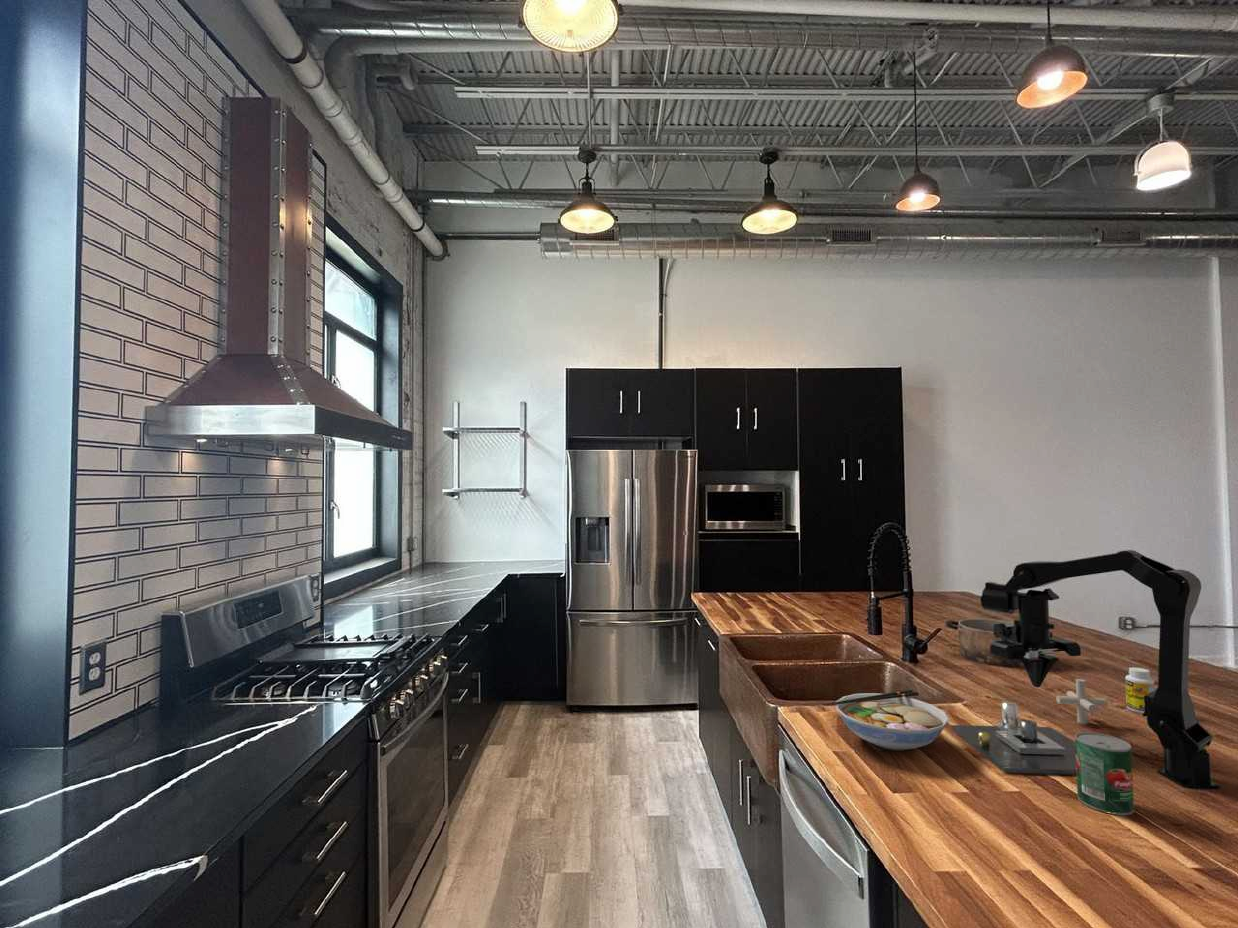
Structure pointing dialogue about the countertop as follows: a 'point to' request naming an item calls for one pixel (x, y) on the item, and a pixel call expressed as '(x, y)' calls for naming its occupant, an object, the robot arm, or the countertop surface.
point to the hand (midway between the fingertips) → (1036, 686)
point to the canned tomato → (1104, 773)
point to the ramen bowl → (892, 719)
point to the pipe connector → (1081, 701)
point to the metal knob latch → (1013, 734)
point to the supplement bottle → (1138, 688)
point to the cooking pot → (982, 641)
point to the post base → (1014, 761)
